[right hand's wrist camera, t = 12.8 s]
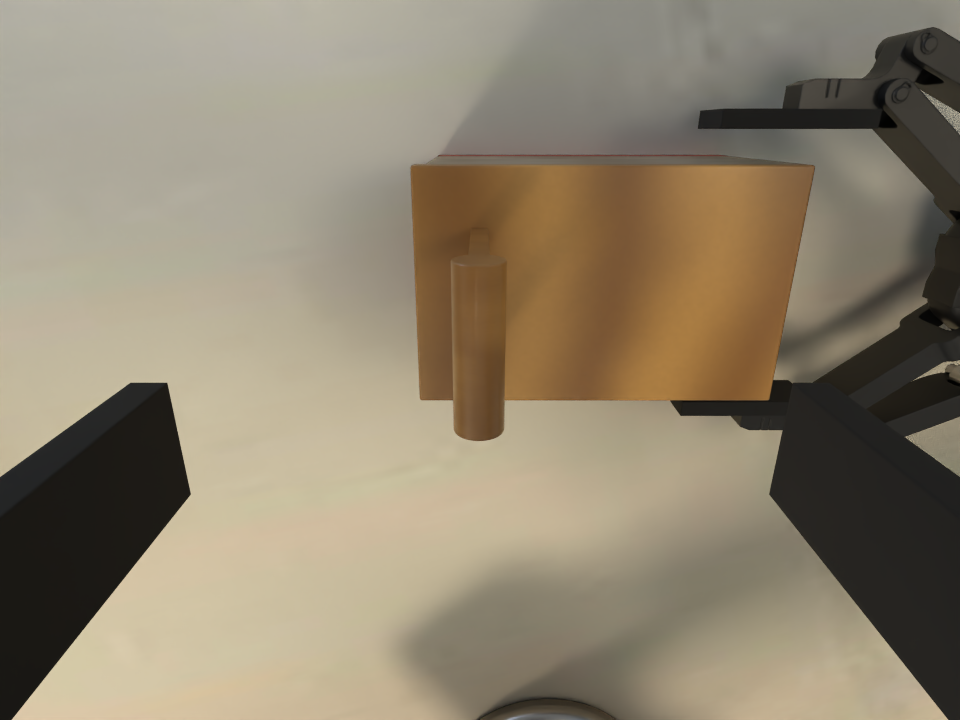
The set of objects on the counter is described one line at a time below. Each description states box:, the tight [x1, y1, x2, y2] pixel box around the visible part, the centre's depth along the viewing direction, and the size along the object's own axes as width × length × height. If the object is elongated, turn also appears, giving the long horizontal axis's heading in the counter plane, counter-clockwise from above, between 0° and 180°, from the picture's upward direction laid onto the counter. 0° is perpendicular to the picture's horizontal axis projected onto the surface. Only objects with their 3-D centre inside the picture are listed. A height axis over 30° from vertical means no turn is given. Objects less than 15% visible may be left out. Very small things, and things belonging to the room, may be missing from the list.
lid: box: [410, 164, 815, 441], centre depth 21 cm, size 16×10×8 cm, turn 90°
